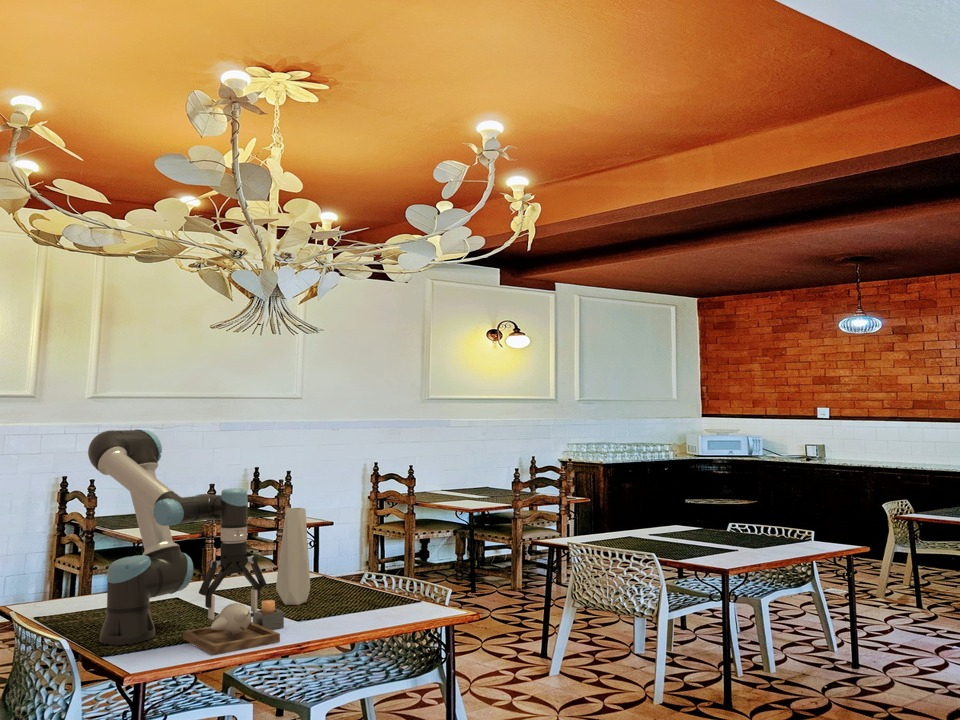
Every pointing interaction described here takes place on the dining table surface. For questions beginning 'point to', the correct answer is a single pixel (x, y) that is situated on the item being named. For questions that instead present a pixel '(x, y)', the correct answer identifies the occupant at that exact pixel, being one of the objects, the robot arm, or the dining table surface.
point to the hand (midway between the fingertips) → (233, 615)
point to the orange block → (268, 606)
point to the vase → (294, 559)
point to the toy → (233, 619)
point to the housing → (269, 619)
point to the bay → (230, 639)
